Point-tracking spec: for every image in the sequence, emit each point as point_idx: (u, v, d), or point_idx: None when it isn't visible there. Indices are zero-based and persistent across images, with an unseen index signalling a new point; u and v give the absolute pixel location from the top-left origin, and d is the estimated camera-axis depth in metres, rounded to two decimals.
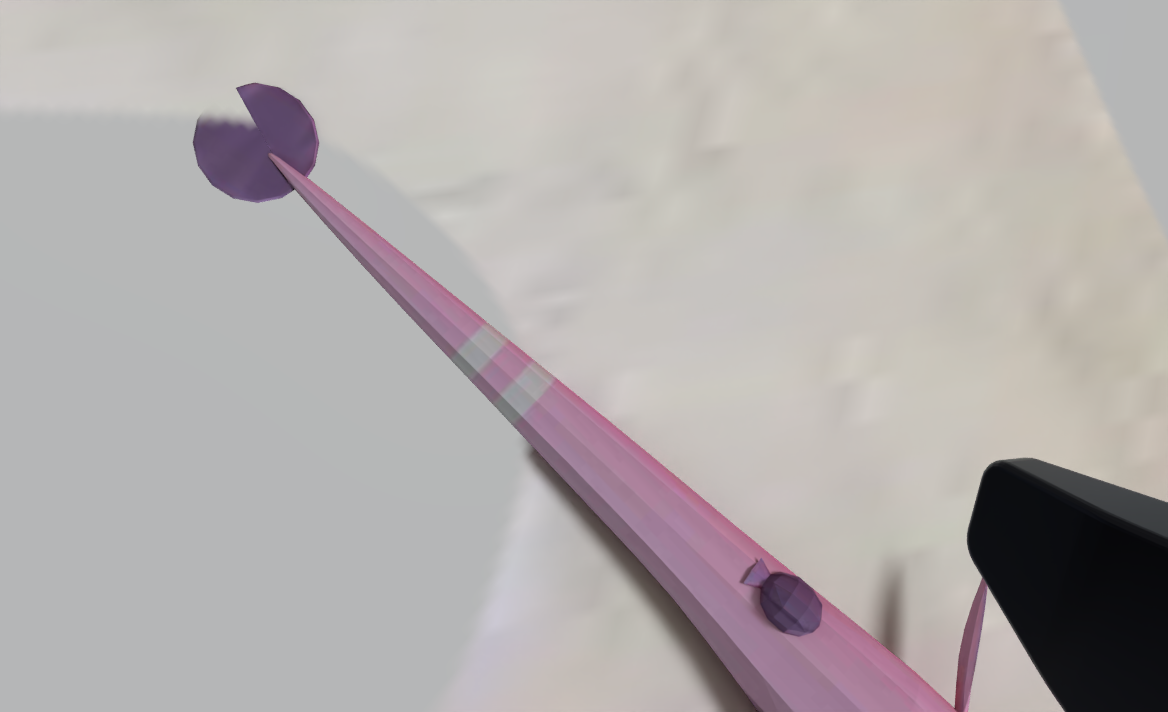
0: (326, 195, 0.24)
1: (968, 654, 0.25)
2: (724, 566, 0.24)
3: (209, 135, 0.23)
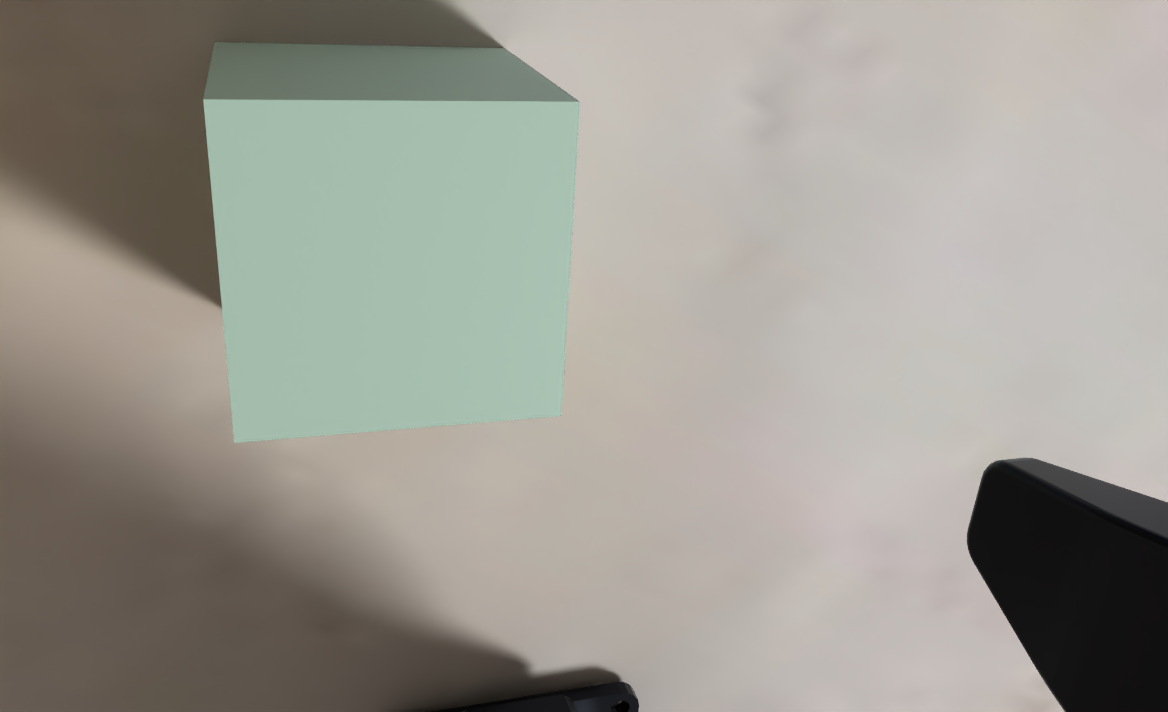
0: None
1: None
2: None
3: None
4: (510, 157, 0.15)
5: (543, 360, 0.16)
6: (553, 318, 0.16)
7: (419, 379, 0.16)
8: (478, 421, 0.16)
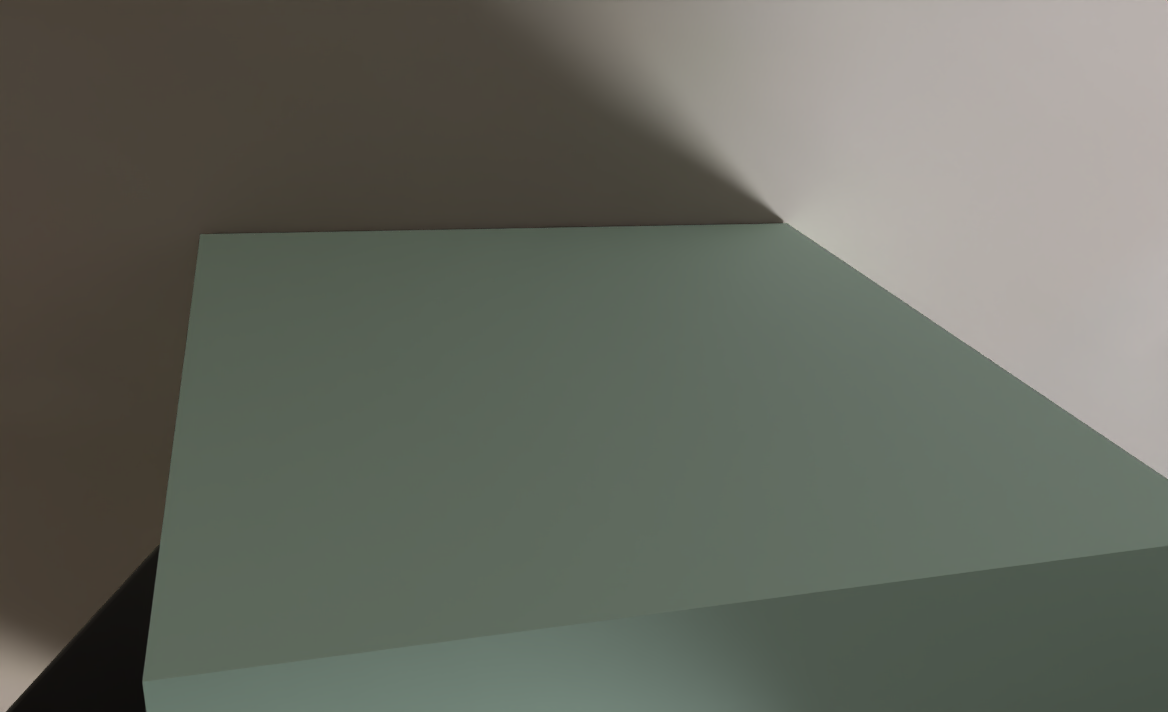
0: None
1: None
2: None
3: None
4: (1043, 689, 0.05)
5: None
6: None
7: None
8: None
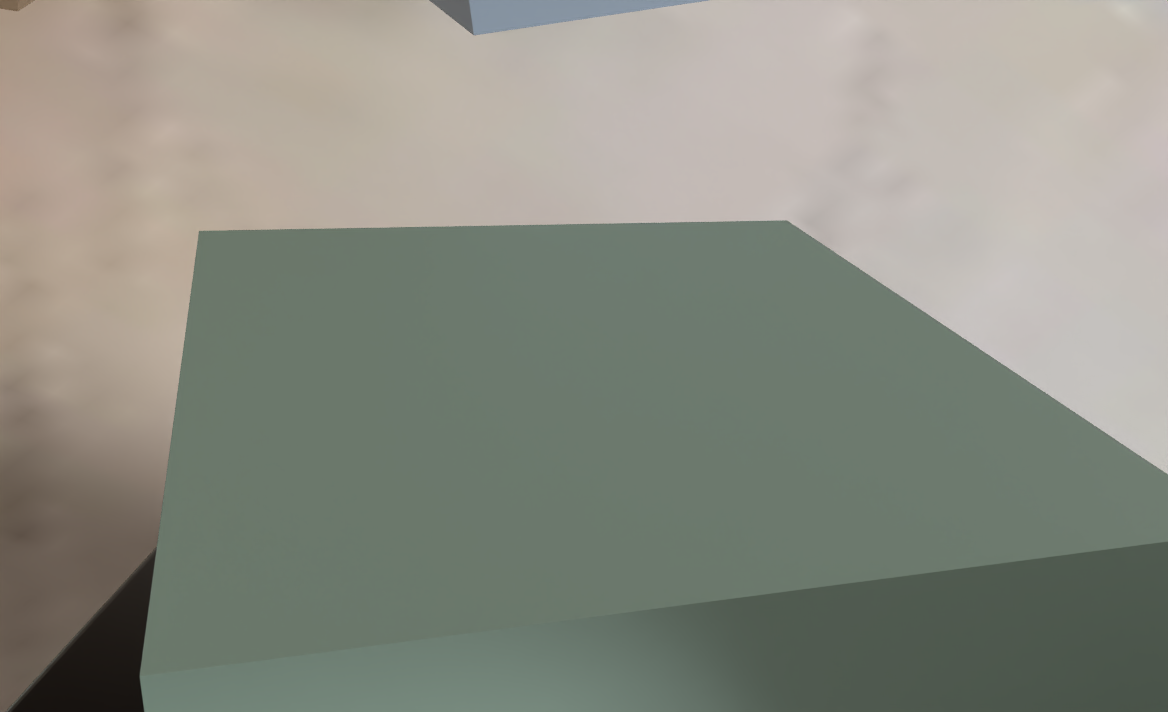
0: None
1: None
2: None
3: None
4: (1044, 688, 0.05)
5: None
6: None
7: None
8: None
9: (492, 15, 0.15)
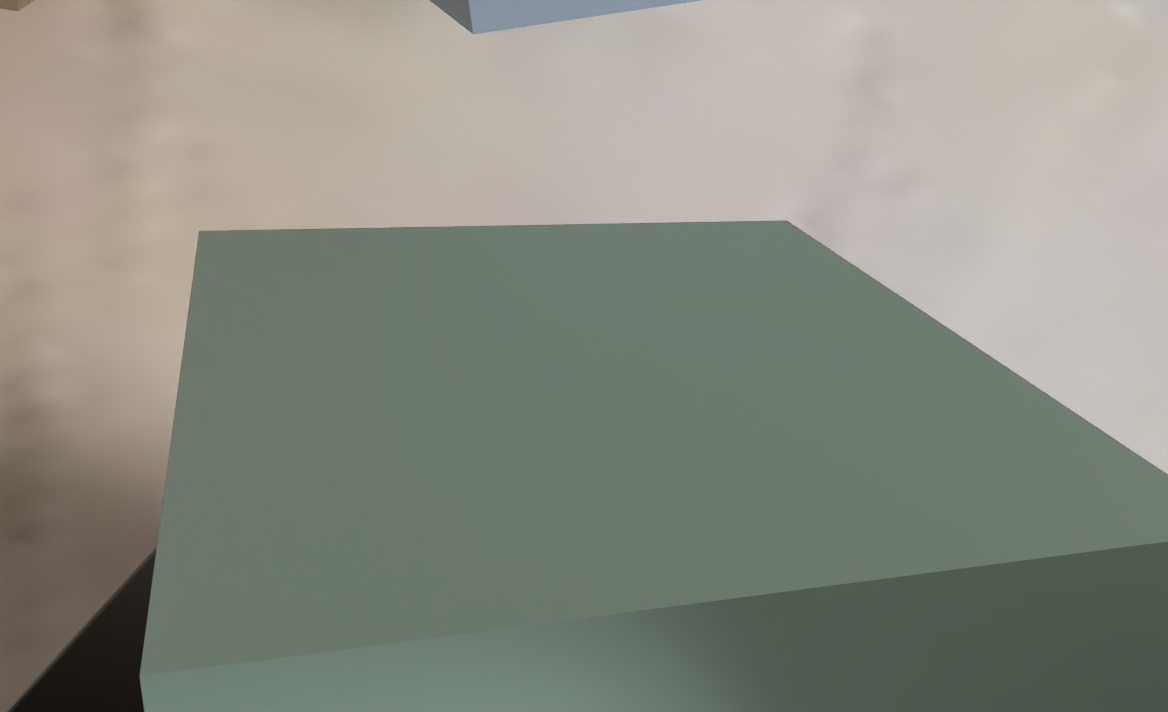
0: None
1: None
2: None
3: None
4: (1042, 686, 0.05)
5: None
6: None
7: None
8: None
9: (491, 14, 0.15)
